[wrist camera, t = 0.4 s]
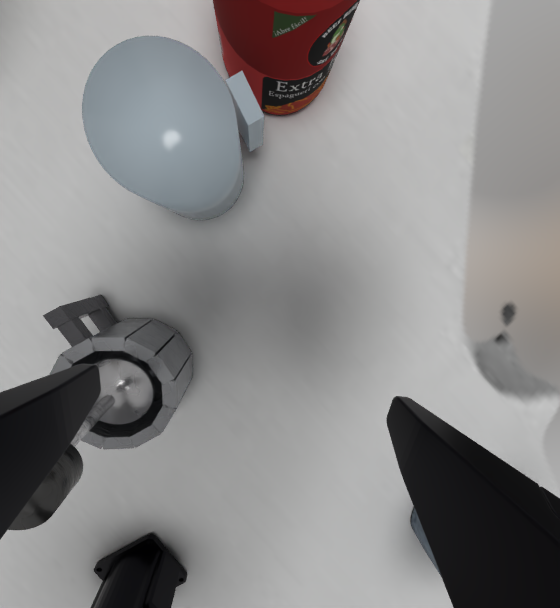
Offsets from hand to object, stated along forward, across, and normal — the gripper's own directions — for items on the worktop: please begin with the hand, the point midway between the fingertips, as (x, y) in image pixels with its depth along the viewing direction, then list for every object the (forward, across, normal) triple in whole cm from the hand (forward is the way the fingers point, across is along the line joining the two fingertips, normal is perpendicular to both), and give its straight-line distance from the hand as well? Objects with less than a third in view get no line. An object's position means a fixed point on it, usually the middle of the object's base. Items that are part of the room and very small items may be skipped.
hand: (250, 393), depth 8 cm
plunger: (+9, +9, +8) cm, 15 cm away
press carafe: (+13, +10, +8) cm, 18 cm away
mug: (+16, +6, -7) cm, 18 cm away
